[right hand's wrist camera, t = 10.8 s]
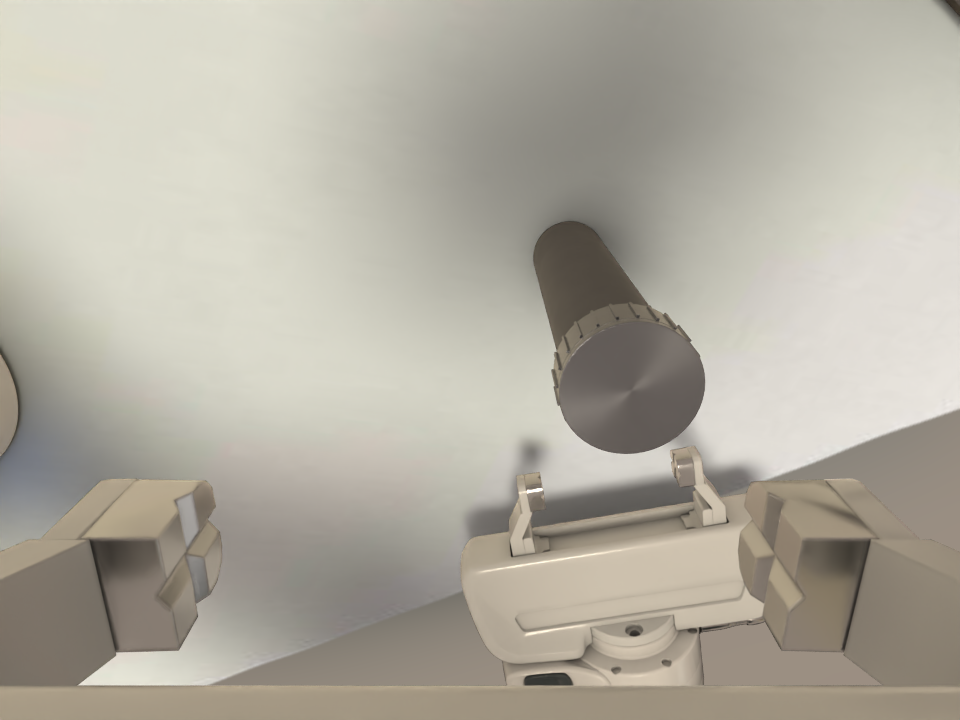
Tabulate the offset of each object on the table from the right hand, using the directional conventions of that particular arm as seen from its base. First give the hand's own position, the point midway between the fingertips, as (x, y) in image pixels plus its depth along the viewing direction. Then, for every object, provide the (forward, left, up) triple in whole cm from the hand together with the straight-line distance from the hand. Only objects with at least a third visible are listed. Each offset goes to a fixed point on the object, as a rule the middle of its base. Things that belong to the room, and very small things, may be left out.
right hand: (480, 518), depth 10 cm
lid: (+1, +6, -13) cm, 14 cm away
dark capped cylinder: (+1, +6, -32) cm, 32 cm away
